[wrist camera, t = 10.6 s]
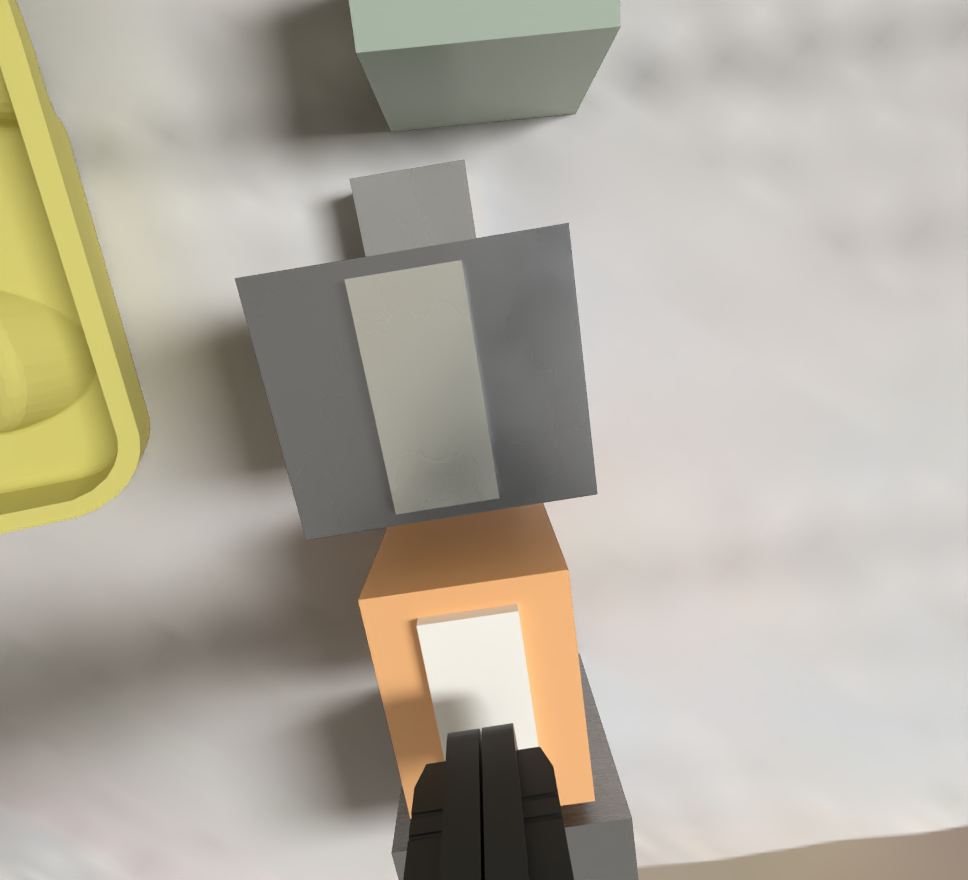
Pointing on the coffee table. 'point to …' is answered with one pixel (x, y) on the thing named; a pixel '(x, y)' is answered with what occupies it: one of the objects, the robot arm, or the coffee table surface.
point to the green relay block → (480, 57)
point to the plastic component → (55, 318)
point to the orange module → (477, 640)
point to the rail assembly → (437, 401)
